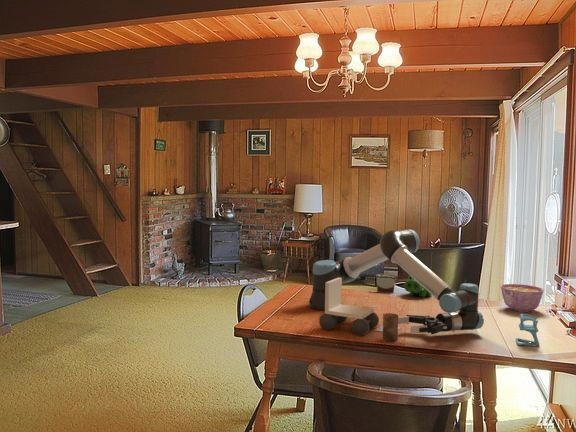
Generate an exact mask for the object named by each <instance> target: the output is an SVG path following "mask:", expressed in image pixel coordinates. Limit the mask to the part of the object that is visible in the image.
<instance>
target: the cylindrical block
mask: <svg viewBox="0 0 576 432" xmlns="http://www.w3.org/2000/svg"><path fill="white" fill-rule="evenodd" d="M398 317H399V314H396V313H393V312H392V313H390V312H389V313H383V315H382V325H383V332H382V340H383V341H385V342H389V343H390V342H391V343H395V342H397V341H398V338H399V337H398V336H399V330H398V327H399V324H398Z"/></svg>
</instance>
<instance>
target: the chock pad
mask: <svg viewBox="0 0 576 432" xmlns="http://www.w3.org/2000/svg"><path fill="white" fill-rule="evenodd" d="M400 329H401V327H400V326H398V331H399V330H400ZM375 332H380V333H383V324H382V325H381V326H379V327H378V328H377V329H375Z"/></svg>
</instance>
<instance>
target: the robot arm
mask: <svg viewBox="0 0 576 432" xmlns="http://www.w3.org/2000/svg"><path fill="white" fill-rule="evenodd" d="M379 240H380V241H379V244H376V245H375V246H372V247H370V248H369V249H367V250H365V251H363V252H361V253H359V254H357V255H355V256H353V257H351V256H346V257H345V258H342V259H341V260H339V261H334V260H331V259H325V260H324V259H322V260H318V261H316V262H314V263H313V265H312V271H311V272H312V293H310V294H311V295H310V298H309V300H308V308H310V309H313V310H318V311H325V283H326V282H328V281H331V280H333V279H336V278H342V284H347V283H349V284H350V283H351V282H353V281H355V280H356V279H357V278H358V277H359V276H360V274H361V273H362V272H364V271H367V270H369V269H371V268H373V267H376V266H377V265H379V264H382V263H383V262H386V261H387V260H388V261H390V262H391V263H393V264H397V265H398V266H399V267H400V268H401V269H402V270H403V271H404V272H406V273H407V274H408V276H409V275H410V276H411V277H413V278H414V279H415V280H416V281H417V282H418V283H419V284H420V285H422V286H423V287H424V288H425V289H426V290H427V291H428V292H430V293H431V296H433V297H434V298H435V299H436V300H437V301H438V305H439V307H440V309H441V311H443V312H441V313H437V314H436V316H434V317H433V316H430V315H419V314H417V315H415V314H406V316H398V325H401V324H408V325H409V324H410V323H412V324H419V325H412V326H410V334H412V335H413V334H423V333H426V334H431V335H434V334H435V335H436V334H437V333H442V332H452V333H455V332H456V331H473V330H478V329H482V328H483V326H484V322H485V319H484V316H483V315H484V314H482V313H481V312H480V311H479V310H478V309H479V301H478V300H479V295H480V293H479V286H478V285H477V284H475V283H467V282H466V283H465V282H464V283H461V284H460V285H459V289H458V290H457V291H456V290H455V289H453V288H452V287H451V286H450V285H449V284H447V283H446V282H445V281H444V280H443V279H442V278H441V277H440V276H438V275H437V274H436V273H435V272H434V271H432V269H430V268H429V267H428V266H426V264H424V262H422V261H421V260H420V259H419V258H418V257H416V256H415V255H414V253H416V252H418V250H419V248H420V244H421V242H420V241H421V239H420V237H419V235H418V234H417V232H416V231H415V230H413V229H411V228H410V229H409V228H404V229H395V230H388V231H386V232H385V233H383V234H382V235H381V237H380V239H379Z"/></svg>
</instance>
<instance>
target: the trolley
mask: <svg viewBox="0 0 576 432" xmlns="http://www.w3.org/2000/svg"><path fill="white" fill-rule="evenodd" d="M342 284H343V283H342V278H336V279H333V280H331V281H328V282H326V283H325V310H324V313H323V314H321V316H319V319H318V322H319V326H320V327H321V329H323V330H325V331H330V330H332V329H334V328H335V326H337V324H338V323H339V324H343V323H344V322H345V321H346V320H347V318H351V319H354V320H353V321H352V323H351V330H352V332H353V333H354V334H355V335H356V336H358V337H359V336H360V337H362V336H365V335H366V334H367V333H368V332H369V330H370V329H374V328H376V327H378V325H379V323H380V318H379V315H378V314H376V312H374V311H375V309H374V308H372V307H362V306H357V305H350V304H342V291H343V288H342V287H343V285H342Z"/></svg>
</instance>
